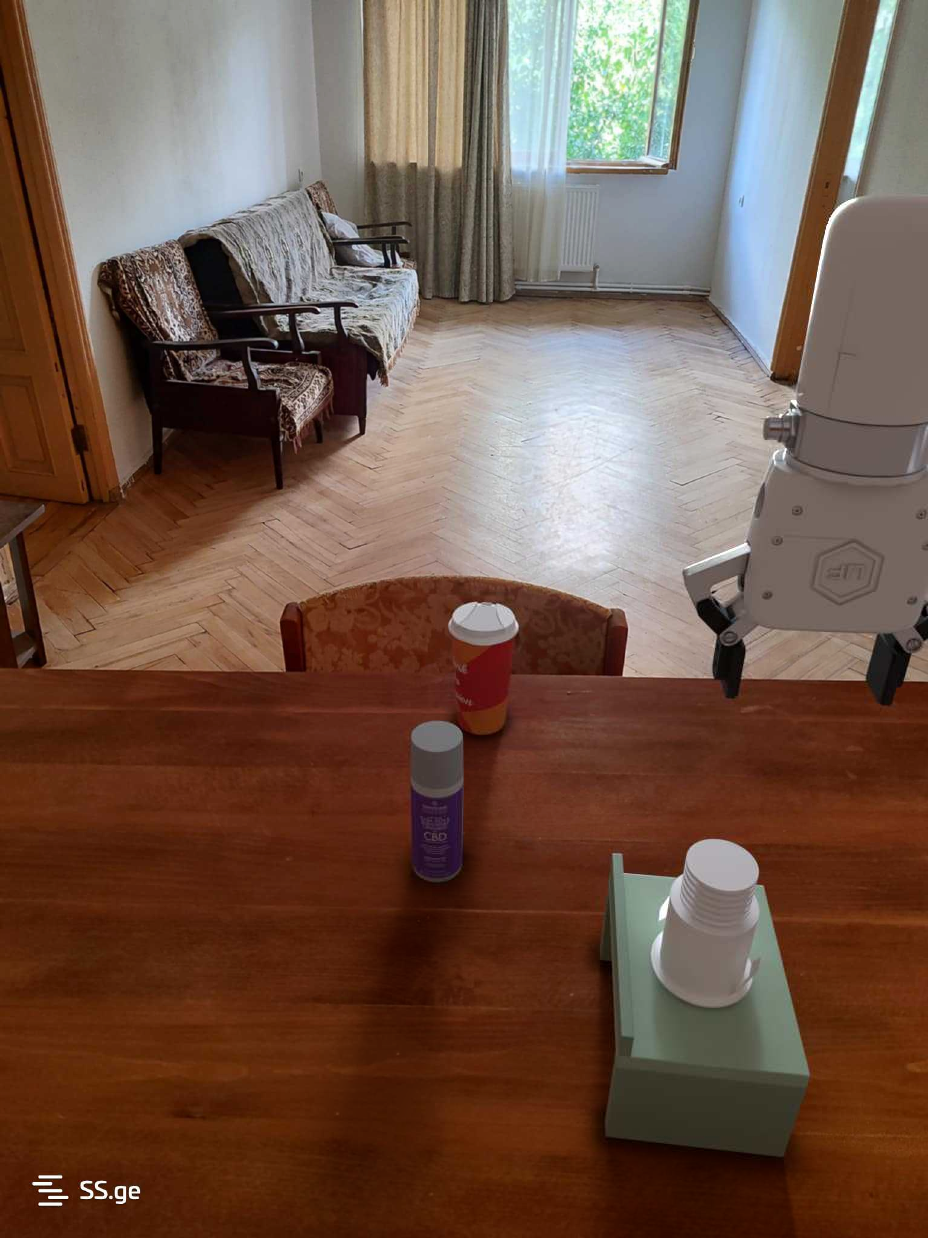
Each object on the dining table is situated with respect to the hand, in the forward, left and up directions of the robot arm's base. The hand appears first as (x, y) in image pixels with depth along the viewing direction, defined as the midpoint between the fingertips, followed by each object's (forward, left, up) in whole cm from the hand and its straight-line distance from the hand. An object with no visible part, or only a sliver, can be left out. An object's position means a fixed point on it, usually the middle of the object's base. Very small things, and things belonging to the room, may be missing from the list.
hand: (801, 690), depth 58 cm
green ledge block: (+5, +6, -29) cm, 30 cm away
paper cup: (+24, -33, -29) cm, 50 cm away
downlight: (+5, +7, -20) cm, 21 cm away
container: (+26, -10, -29) cm, 40 cm away
